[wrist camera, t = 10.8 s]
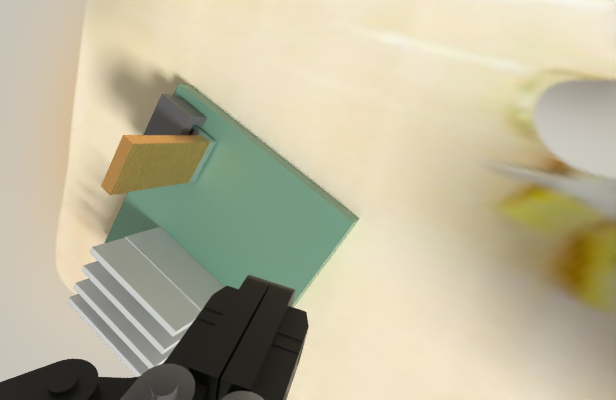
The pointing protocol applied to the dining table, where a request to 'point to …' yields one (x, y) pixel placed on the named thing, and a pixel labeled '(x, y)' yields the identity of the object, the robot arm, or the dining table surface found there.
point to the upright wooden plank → (157, 161)
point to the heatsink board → (204, 236)
